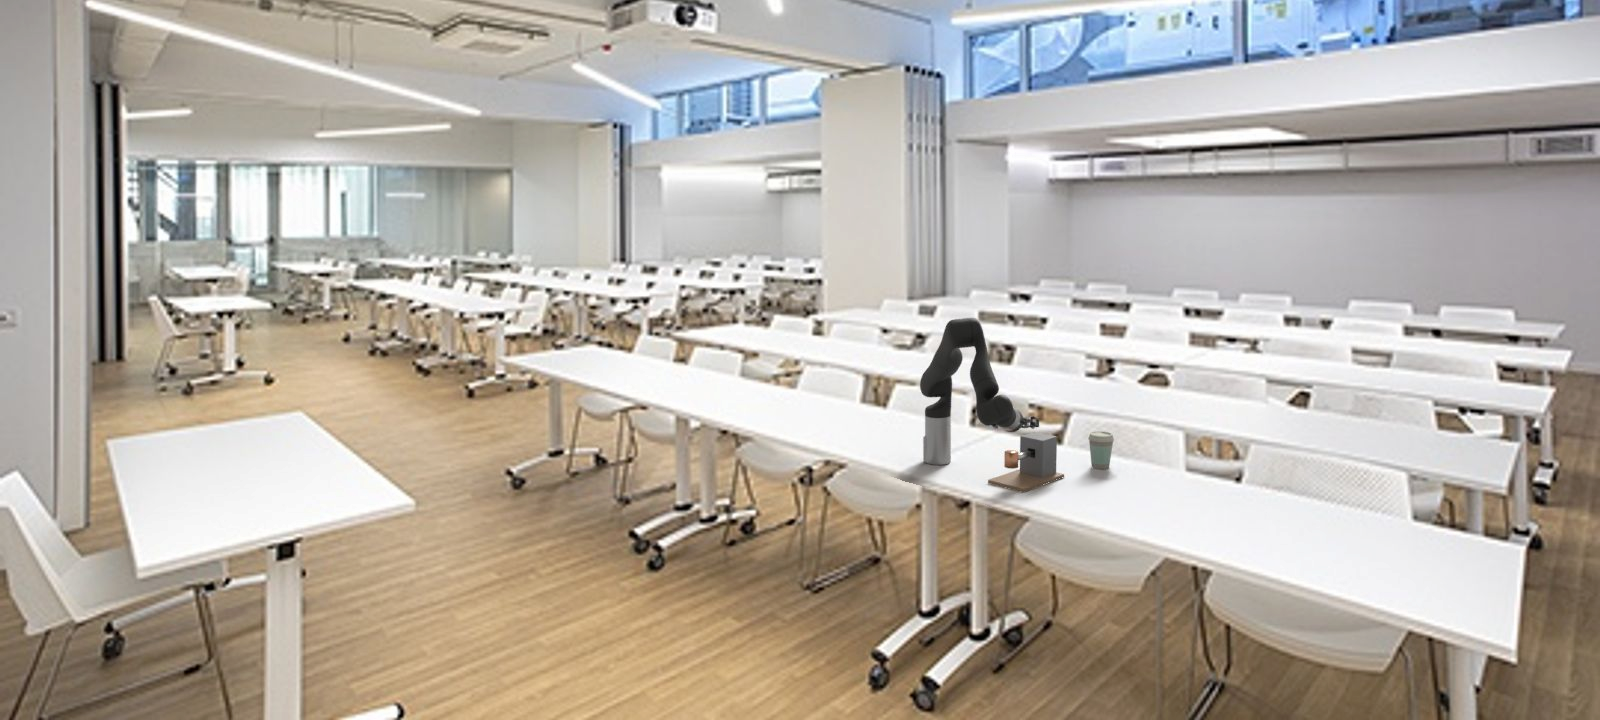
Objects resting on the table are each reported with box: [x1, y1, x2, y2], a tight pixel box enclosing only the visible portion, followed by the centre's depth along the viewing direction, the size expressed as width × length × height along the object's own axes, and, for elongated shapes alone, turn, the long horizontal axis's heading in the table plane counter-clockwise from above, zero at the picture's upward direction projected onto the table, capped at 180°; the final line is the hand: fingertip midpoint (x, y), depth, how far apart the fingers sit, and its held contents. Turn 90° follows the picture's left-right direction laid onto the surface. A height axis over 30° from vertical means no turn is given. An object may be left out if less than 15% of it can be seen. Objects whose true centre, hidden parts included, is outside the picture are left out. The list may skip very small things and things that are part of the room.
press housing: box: [987, 431, 1065, 493], centre depth 302 cm, size 23×14×14 cm, turn 130°
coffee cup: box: [1088, 430, 1115, 470], centre depth 316 cm, size 8×8×12 cm
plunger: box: [1003, 449, 1035, 469], centre depth 300 cm, size 14×4×5 cm, turn 130°
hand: (1020, 425), depth 293 cm, fingers open, 8 cm apart
